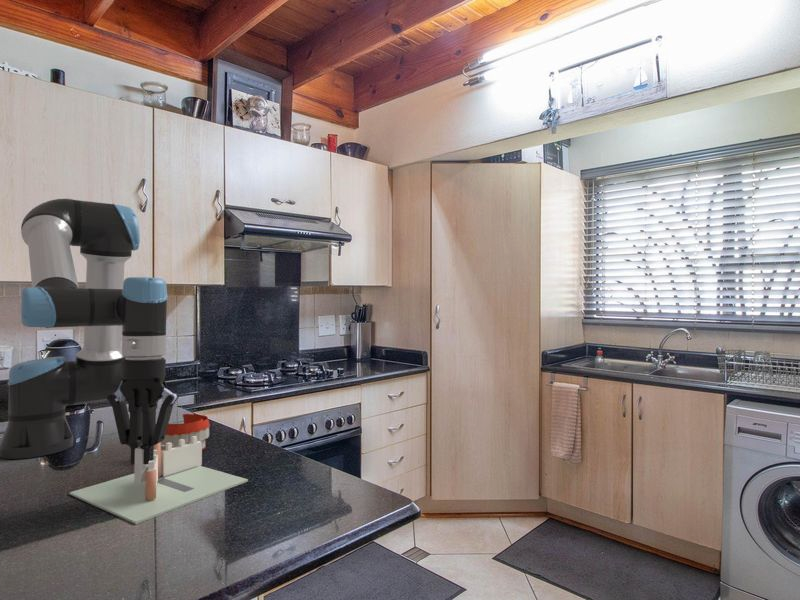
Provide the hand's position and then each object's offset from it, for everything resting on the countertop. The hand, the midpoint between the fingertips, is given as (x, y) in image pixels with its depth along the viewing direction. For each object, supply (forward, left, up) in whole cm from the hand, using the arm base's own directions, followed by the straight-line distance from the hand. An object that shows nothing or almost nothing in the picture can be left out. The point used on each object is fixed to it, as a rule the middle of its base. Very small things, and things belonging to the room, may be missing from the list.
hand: (141, 480), depth 90 cm
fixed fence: (-6, +11, -3) cm, 13 cm away
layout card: (-1, +5, -3) cm, 6 cm away
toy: (-19, +22, -3) cm, 29 cm away
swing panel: (0, +2, -2) cm, 3 cm away
